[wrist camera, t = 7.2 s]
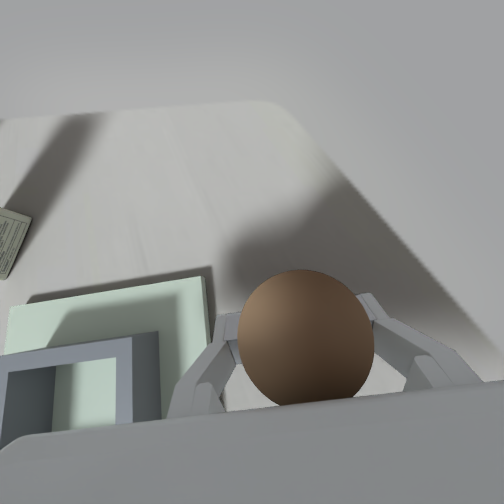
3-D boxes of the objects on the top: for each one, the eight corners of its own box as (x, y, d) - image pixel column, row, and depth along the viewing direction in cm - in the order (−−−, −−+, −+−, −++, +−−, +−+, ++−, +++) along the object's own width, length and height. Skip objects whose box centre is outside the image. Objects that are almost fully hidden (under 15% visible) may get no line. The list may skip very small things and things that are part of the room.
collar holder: (-4, 548, 15) (-105, 637, 11) (23, 306, 18) (-44, 307, 15) (228, 531, 13) (208, 623, 10) (204, 277, 17) (184, 270, 13)
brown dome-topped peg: (263, 355, 16) (246, 420, 7) (254, 292, 17) (230, 280, 8) (326, 346, 15) (392, 404, 7) (312, 283, 16) (354, 260, 8)
